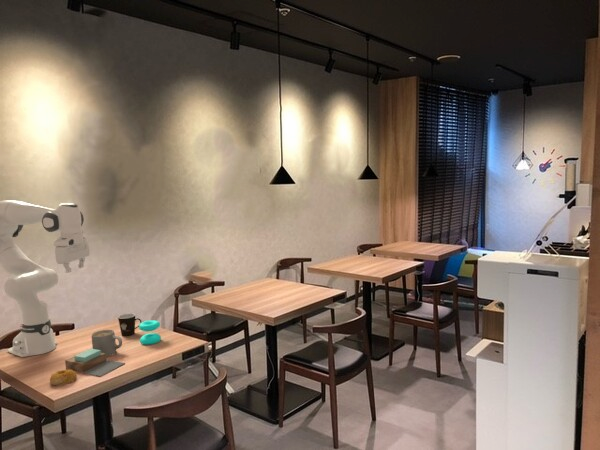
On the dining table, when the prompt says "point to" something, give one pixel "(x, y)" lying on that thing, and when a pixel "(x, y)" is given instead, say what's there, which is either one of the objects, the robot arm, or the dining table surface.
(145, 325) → the donuts
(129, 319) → the coffee mug
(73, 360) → the brown block
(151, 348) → the dining table surface
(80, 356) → the mint green block
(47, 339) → the robot arm
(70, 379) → the bagel
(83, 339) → the dining table surface
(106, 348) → the coffee mug
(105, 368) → the mat
